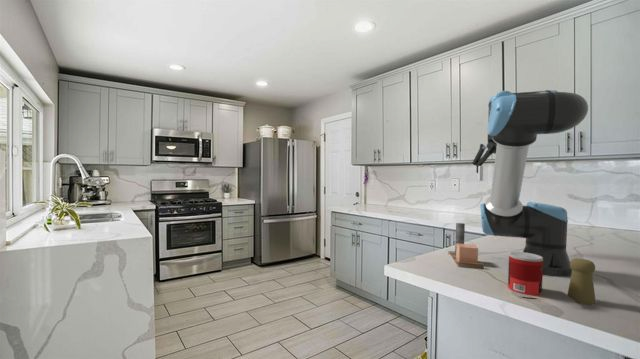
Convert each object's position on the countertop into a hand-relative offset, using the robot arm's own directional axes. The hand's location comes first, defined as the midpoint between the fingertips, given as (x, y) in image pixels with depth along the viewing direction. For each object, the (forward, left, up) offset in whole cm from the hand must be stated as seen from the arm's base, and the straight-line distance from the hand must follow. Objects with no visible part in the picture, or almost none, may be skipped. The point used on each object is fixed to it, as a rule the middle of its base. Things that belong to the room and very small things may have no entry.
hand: (496, 180), depth 133 cm
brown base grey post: (-3, +27, -31) cm, 41 cm away
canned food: (-30, +41, -31) cm, 59 cm away
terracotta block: (-6, +30, -29) cm, 42 cm away
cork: (-40, +32, -31) cm, 59 cm away
